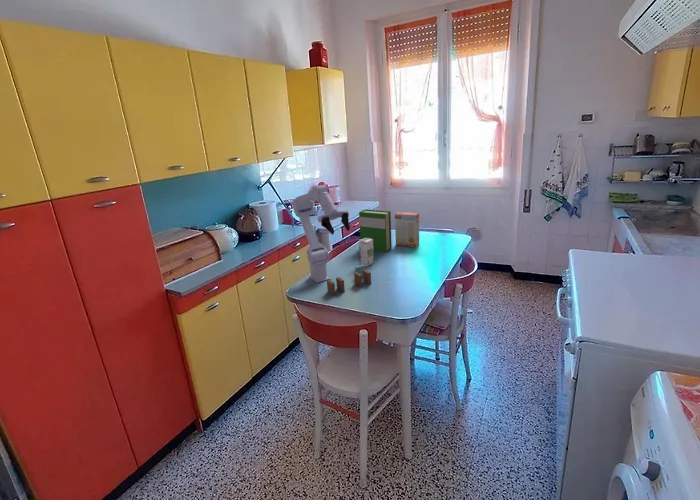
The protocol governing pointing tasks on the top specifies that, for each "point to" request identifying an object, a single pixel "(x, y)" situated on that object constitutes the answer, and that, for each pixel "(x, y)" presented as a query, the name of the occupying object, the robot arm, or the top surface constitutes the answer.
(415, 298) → the top surface
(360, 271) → the teal tile
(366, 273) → the tile
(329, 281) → the tile
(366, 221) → the hardback book
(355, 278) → the tile
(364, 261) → the syrup box
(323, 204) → the robot arm
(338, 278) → the tile
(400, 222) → the cracker box
